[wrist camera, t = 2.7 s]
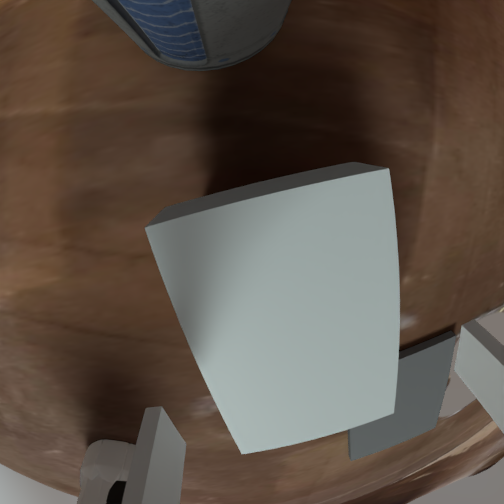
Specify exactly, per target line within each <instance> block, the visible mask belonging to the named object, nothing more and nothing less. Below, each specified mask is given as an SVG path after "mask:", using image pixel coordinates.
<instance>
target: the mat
mask: <svg viewBox="0 0 504 504" xmlns="http://www.w3.org/2000/svg"><path fill="white" fill-rule="evenodd" d="M455 339H456V335H455V334H454V333H453V332H452V331H448V332H446V333H444V334H442V335H439V336H437V337H435V338H432V339H430V340H428V341H425V342H423V343H420V344H418V345H415V346H413V347H410V348H408V349H405V350H403V351H400V352H399V358H398V374H397V387H396V398H395V407H394V413H393V414H390V415H388V416H385V417H382V418H380V419H377V420H374V421H371V422H369V423H366V424H363V425H360V426H357V427H354V428H351V429H348V446H349V457H350V460H351V461H352V460H355V459H358V458H361V457H364V456H367V455H370V454H373V453H376V452H378V451H381V450H384V449H386V448H389V447H392V446H394V445H397V444H399V443H402V442H404V441H406V440H409V439H411V438H413V437H416V436H418V435H420V434H422V433H424V432H427V431H429V430H431V429H433V428H435V426H436V423H437V420H438V416H439V413H440V409H441V405H442V401H443V398H444V394H445V390H446V385H447V381H448V377H449V372H450V367H451V362H452V357H453V351H454V345H455Z"/></svg>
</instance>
